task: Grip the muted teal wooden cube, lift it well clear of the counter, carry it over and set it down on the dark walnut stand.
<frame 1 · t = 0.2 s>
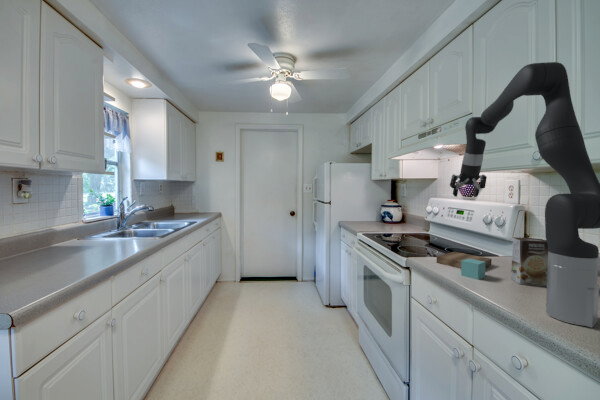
hand: (464, 196, 124), 31 cm above the worktop, tool tilted 20°, fingers open, 8 cm apart
coffee box: (529, 283, 96), on the worktop
walnut stand: (463, 264, 119), on the worktop
teal cube: (472, 276, 103), on the worktop
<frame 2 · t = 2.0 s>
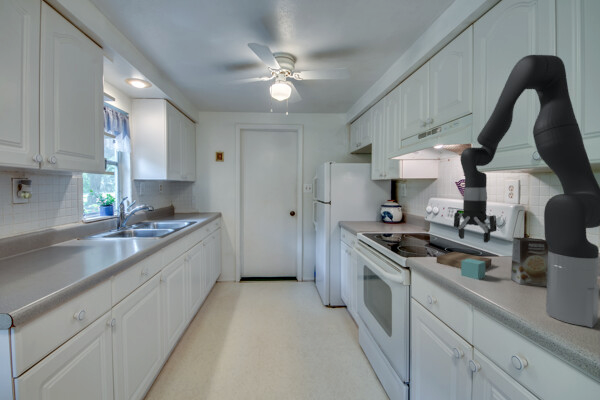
hand: (473, 240, 103), 14 cm above the worktop, tool pointing down, fingers open, 8 cm apart
nothing on the worktop moved.
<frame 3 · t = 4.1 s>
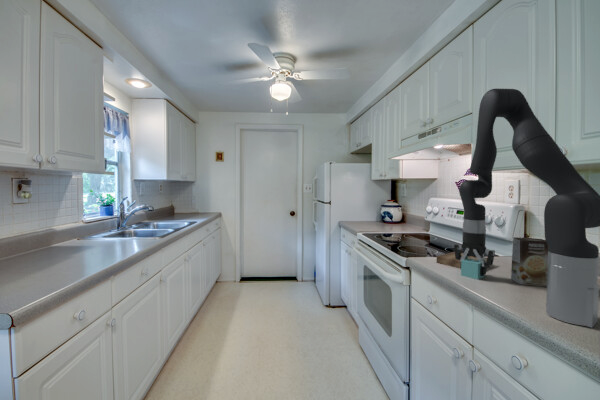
hand: (472, 273, 103), 1 cm above the worktop, tool pointing down, fingers closed on teal cube, 6 cm apart
teal cube: (472, 276, 103), on the worktop, touching gripper
everything else where it was.
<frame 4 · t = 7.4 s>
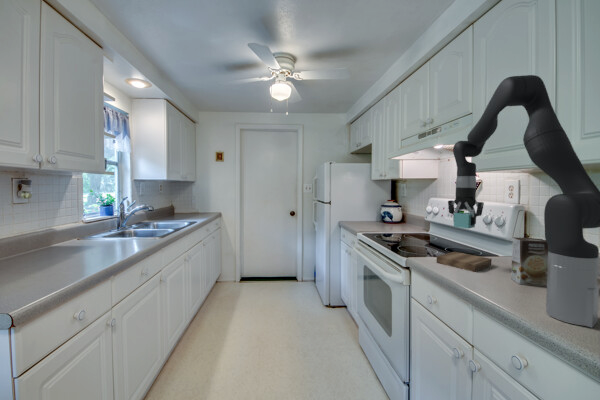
hand: (464, 224, 116), 19 cm above the worktop, tool pointing down, fingers closed on teal cube, 6 cm apart
teal cube: (464, 226, 116), point 17 cm above the worktop, touching gripper
everything else where it was.
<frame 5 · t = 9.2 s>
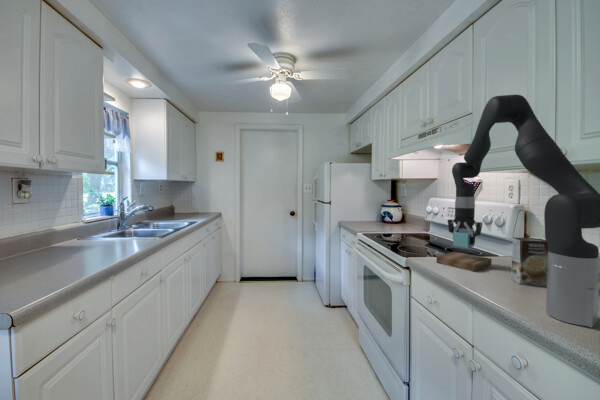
hand: (463, 243, 119), 10 cm above the worktop, tool pointing down, fingers closed on teal cube, 6 cm apart
teal cube: (463, 245, 119), point 8 cm above the worktop, touching gripper
everything else where it was.
when the fingers open (5 cm above the worktop, at t = 10.9 s): teal cube drops 1 cm, resting on walnut stand.
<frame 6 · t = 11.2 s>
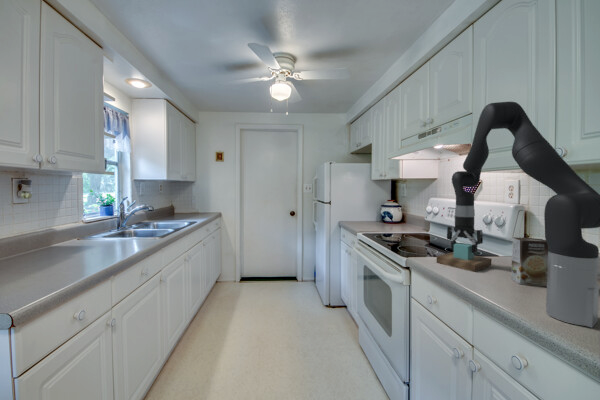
hand: (463, 250, 119), 6 cm above the worktop, tool pointing down, fingers open, 8 cm apart
teal cube: (463, 257, 119), point 3 cm above the worktop, touching walnut stand
everything else where it was.
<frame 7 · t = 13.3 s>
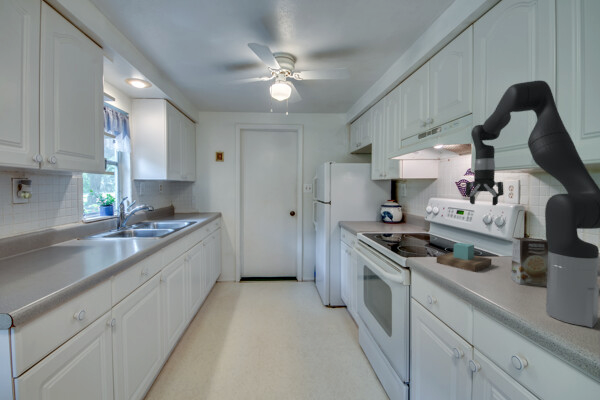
hand: (483, 204, 119), 27 cm above the worktop, tool pointing down, fingers open, 8 cm apart
nothing on the worktop moved.
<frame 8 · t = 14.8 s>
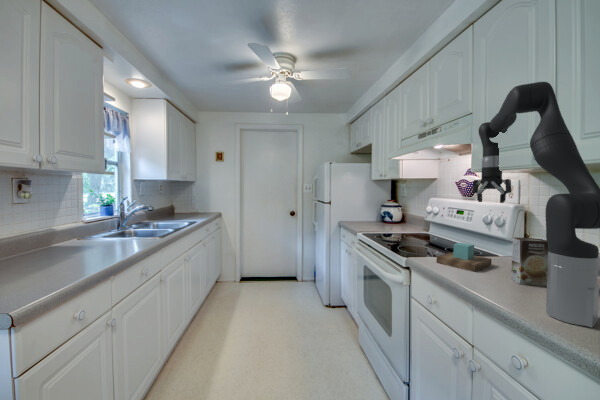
hand: (490, 202, 119), 28 cm above the worktop, tool pointing down, fingers open, 8 cm apart
nothing on the worktop moved.
at the end: teal cube inside the target area on the walnut stand (0.0 cm from its centre), point 3.0 cm above the walnut stand's base; teal cube tilted 0°; the gripper is holding nothing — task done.
